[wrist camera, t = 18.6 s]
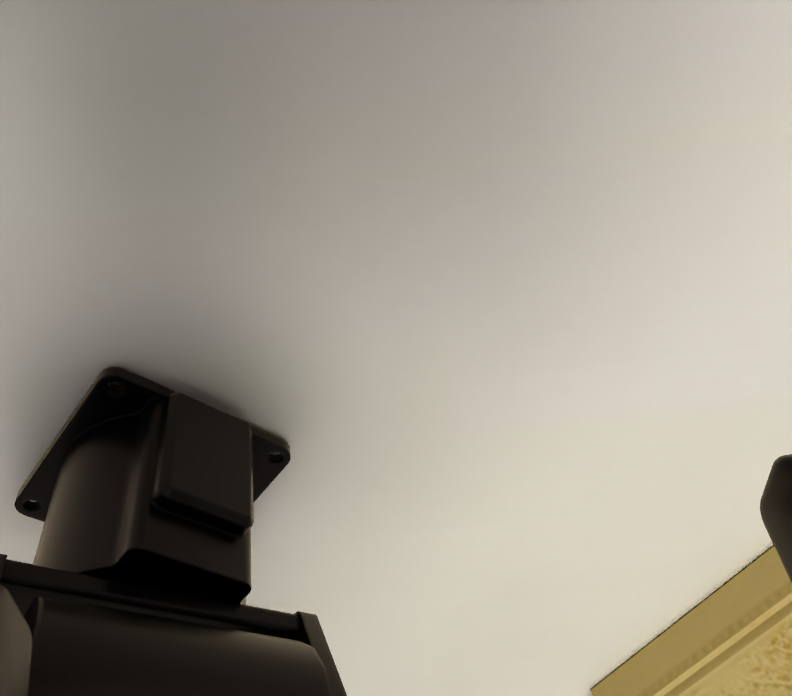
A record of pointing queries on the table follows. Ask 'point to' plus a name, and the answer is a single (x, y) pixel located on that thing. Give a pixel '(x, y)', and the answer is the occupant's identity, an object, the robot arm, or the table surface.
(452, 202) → the table surface
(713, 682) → the tan and brown statue
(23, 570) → the robot arm
